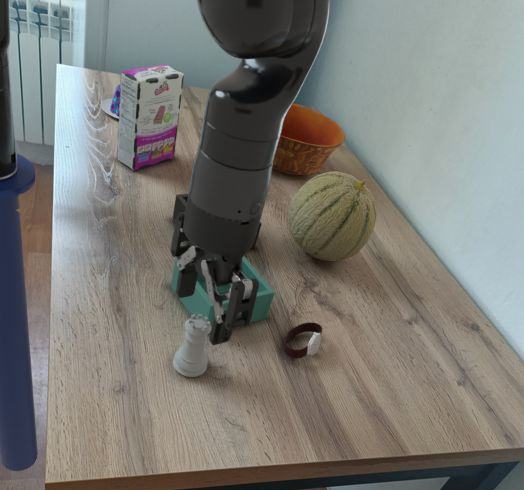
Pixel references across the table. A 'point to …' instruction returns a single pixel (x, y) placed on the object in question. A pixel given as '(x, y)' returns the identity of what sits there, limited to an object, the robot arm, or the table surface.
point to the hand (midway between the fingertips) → (200, 317)
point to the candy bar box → (148, 115)
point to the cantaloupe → (332, 216)
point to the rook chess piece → (193, 348)
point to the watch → (312, 344)
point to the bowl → (306, 141)
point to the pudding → (112, 104)
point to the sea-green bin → (200, 297)
